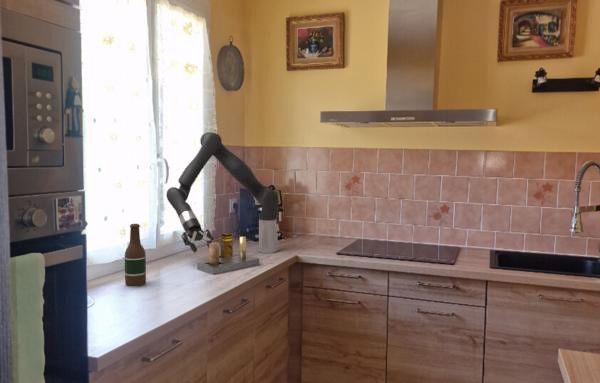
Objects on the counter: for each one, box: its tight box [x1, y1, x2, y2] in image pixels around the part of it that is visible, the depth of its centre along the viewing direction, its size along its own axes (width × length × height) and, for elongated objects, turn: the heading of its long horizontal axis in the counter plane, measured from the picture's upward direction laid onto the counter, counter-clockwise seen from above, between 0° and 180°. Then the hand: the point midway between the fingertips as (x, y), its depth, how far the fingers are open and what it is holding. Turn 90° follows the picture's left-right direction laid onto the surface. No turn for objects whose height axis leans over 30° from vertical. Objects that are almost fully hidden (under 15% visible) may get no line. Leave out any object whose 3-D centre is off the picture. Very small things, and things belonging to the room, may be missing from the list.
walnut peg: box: [208, 242, 220, 266], centre depth 210 cm, size 4×4×12 cm
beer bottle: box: [124, 223, 147, 287], centre depth 185 cm, size 8×8×24 cm
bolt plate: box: [196, 236, 260, 275], centre depth 215 cm, size 26×12×13 cm, turn 136°
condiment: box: [219, 232, 234, 259], centre depth 236 cm, size 7×8×12 cm
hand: (203, 250), depth 215 cm, fingers open, 8 cm apart
